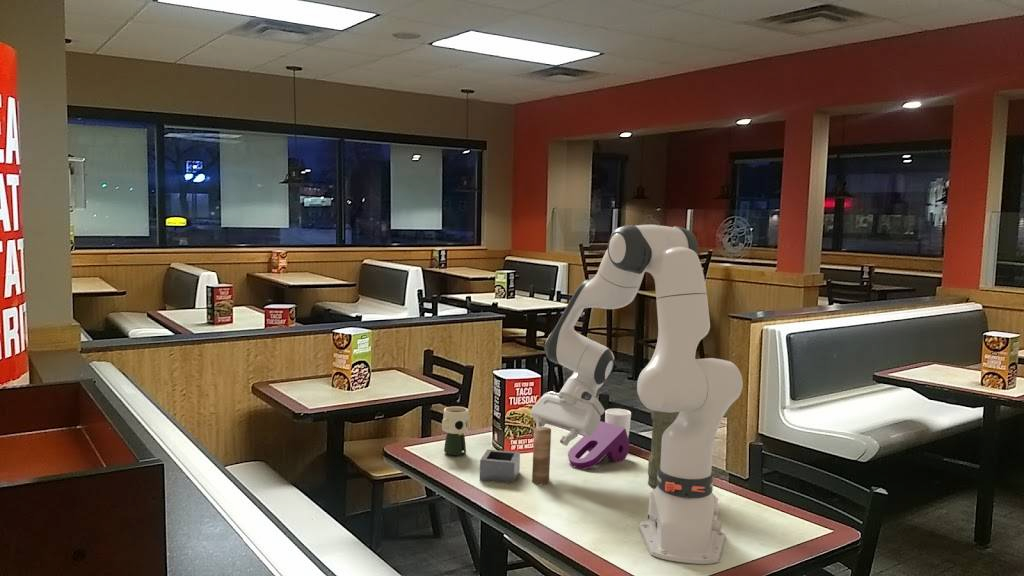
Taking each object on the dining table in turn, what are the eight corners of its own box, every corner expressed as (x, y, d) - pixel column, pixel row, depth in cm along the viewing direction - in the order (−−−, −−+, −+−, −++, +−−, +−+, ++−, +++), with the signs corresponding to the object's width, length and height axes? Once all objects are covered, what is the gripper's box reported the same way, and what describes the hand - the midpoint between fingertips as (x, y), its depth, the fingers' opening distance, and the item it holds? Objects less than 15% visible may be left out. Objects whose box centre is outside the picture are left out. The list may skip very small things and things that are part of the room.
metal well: (513, 483, 198) (514, 462, 198) (479, 480, 200) (480, 459, 199) (519, 472, 207) (520, 452, 207) (486, 469, 209) (487, 449, 208)
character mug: (450, 461, 214) (452, 415, 213) (432, 455, 219) (433, 410, 218) (476, 452, 223) (478, 408, 222) (458, 447, 227) (459, 403, 226)
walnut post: (547, 485, 198) (550, 432, 197) (530, 483, 199) (533, 430, 198) (549, 479, 202) (552, 427, 201) (533, 477, 203) (535, 426, 202)
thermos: (678, 495, 194) (686, 358, 191) (636, 484, 201) (643, 352, 198) (693, 486, 201) (701, 354, 198) (652, 475, 208) (659, 348, 205)
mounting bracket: (593, 490, 212) (631, 451, 223) (586, 466, 209) (625, 428, 219) (568, 480, 219) (606, 443, 230) (561, 457, 216) (600, 420, 226)
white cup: (615, 438, 242) (617, 407, 241) (634, 444, 236) (636, 412, 235) (598, 442, 237) (599, 410, 236) (617, 449, 231) (619, 416, 230)
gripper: (541, 383, 213) (515, 423, 207) (600, 398, 199) (573, 442, 193) (552, 396, 217) (526, 437, 211) (609, 412, 202) (584, 455, 196)
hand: (549, 439), depth 202 cm, fingers open, 8 cm apart
